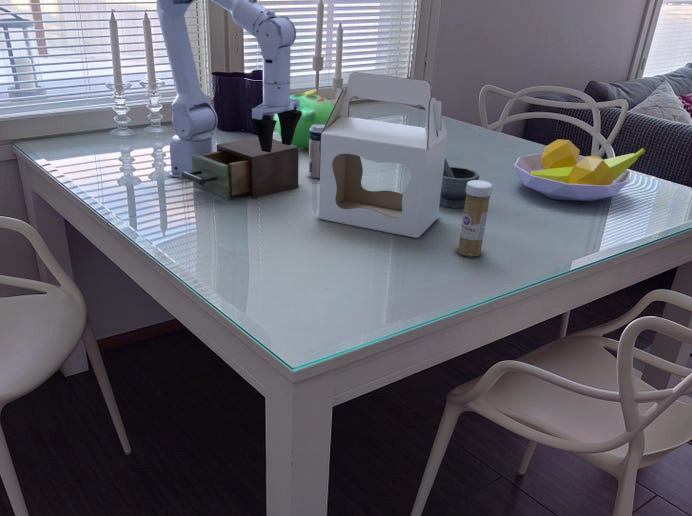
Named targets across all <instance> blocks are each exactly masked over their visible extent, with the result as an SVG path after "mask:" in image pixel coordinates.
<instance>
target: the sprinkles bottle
mask: <svg viewBox="0 0 692 516" xmlns="http://www.w3.org/2000/svg"><path fill="white" fill-rule="evenodd" d="M492 192H493V184H492V183H491V182H489V181H486V180H482V179H481V180H480V179H479V180H472V181H469V182H468V183H467V187H466V201H465V206H464V207H463V214H462V219H461V225H460V231H459V239H458V240H459V241H458V247H457V248H456V249H457V252H458V253H459V254H460V255H462V256H464V257H469V258H473V257H474V258H475V257H478V256H480V255H481V254H482V246H483V241H484V236H485V231H486V224H487V218H488V210H489V203H490V198H491V196H492Z"/></svg>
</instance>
